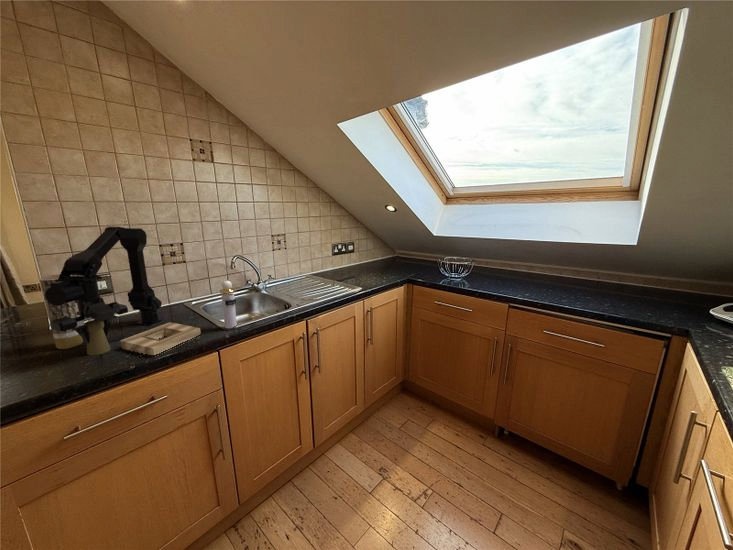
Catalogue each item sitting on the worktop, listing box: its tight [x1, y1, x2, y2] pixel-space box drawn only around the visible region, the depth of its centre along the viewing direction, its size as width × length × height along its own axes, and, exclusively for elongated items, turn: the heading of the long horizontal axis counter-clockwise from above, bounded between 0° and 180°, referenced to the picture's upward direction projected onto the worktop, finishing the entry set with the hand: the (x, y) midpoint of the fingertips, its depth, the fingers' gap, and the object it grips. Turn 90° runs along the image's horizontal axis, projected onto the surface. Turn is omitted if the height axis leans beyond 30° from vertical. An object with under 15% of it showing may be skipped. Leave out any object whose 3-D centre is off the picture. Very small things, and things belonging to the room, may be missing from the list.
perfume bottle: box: [219, 280, 238, 329], centre depth 119 cm, size 6×6×20 cm
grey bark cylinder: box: [39, 273, 84, 350], centre depth 101 cm, size 7×7×25 cm
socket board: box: [120, 322, 202, 356], centre depth 108 cm, size 16×18×3 cm
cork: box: [84, 319, 111, 356], centre depth 99 cm, size 6×6×11 cm
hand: (96, 340), depth 100 cm, fingers closed on cork, 4 cm apart
